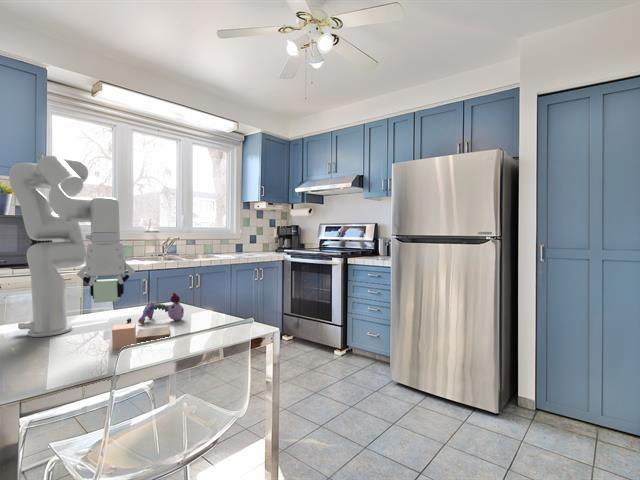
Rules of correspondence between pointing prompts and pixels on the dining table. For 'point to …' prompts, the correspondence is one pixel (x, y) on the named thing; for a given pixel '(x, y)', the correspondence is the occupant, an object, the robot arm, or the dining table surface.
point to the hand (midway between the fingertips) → (107, 296)
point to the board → (152, 334)
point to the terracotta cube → (123, 335)
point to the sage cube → (105, 290)
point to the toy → (173, 310)
